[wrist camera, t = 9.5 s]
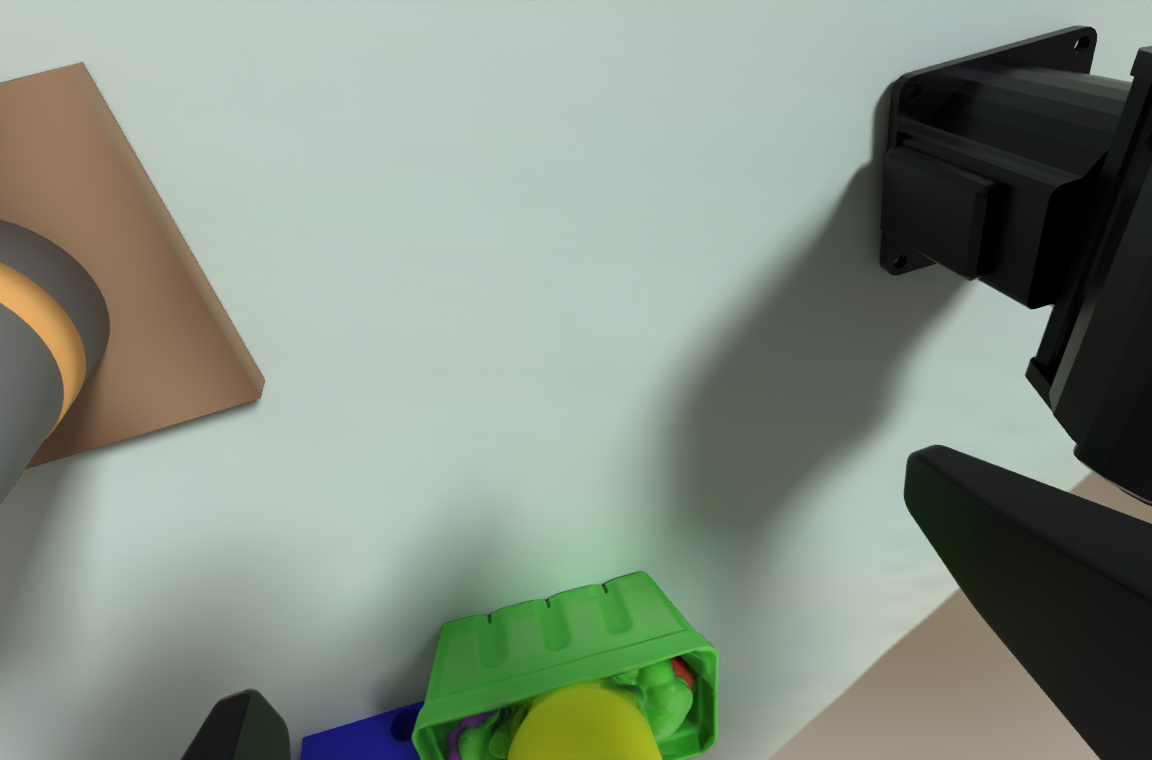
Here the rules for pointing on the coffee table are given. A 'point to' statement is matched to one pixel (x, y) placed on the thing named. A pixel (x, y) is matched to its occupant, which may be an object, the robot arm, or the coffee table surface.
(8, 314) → the orange-banded grey cylinder
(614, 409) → the coffee table surface
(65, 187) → the walnut pad
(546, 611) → the fruit basket
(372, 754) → the cable clip
